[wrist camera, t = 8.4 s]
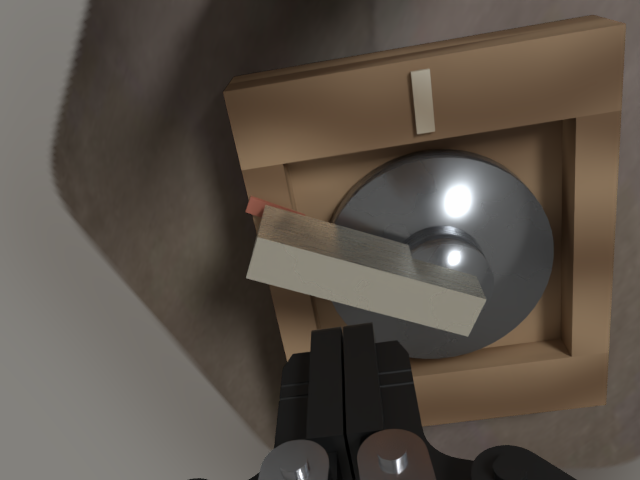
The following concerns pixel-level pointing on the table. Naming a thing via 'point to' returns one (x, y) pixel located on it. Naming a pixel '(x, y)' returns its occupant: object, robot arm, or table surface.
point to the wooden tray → (473, 136)
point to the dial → (419, 252)
